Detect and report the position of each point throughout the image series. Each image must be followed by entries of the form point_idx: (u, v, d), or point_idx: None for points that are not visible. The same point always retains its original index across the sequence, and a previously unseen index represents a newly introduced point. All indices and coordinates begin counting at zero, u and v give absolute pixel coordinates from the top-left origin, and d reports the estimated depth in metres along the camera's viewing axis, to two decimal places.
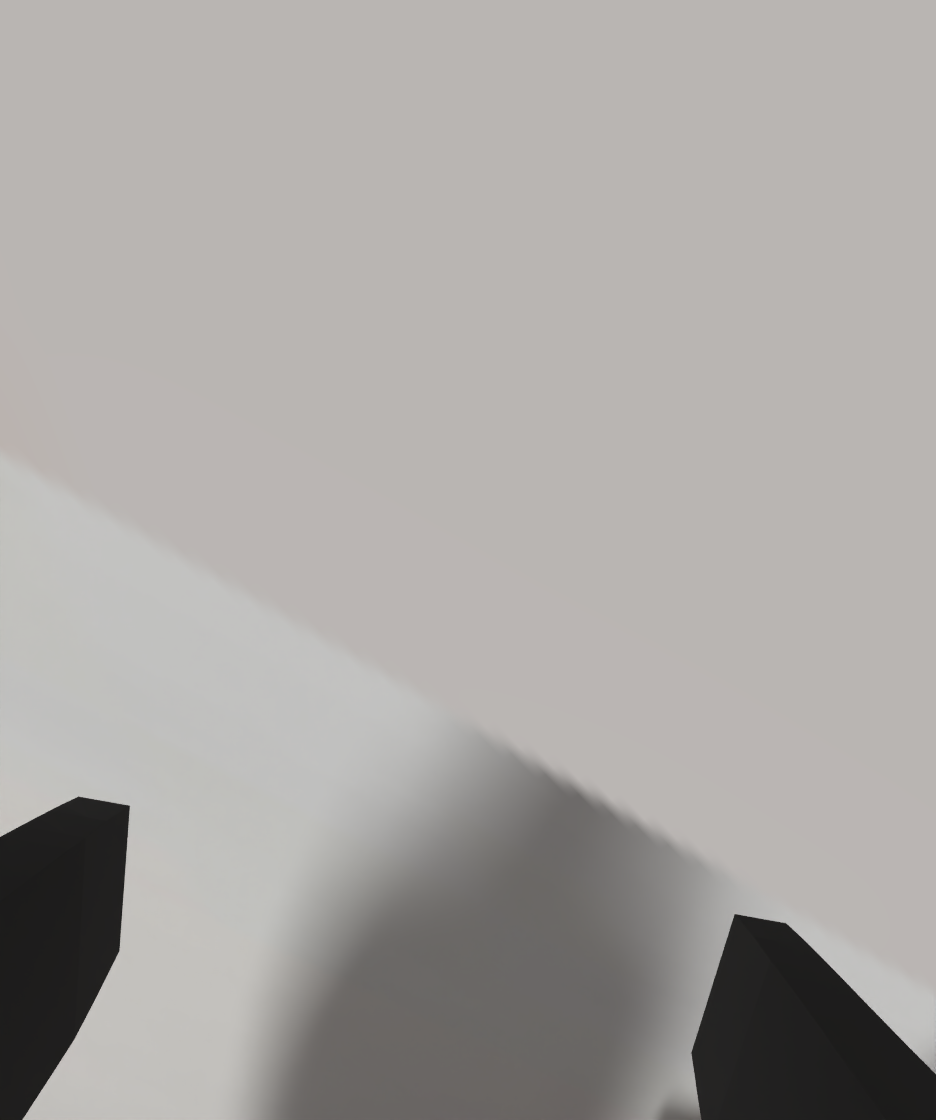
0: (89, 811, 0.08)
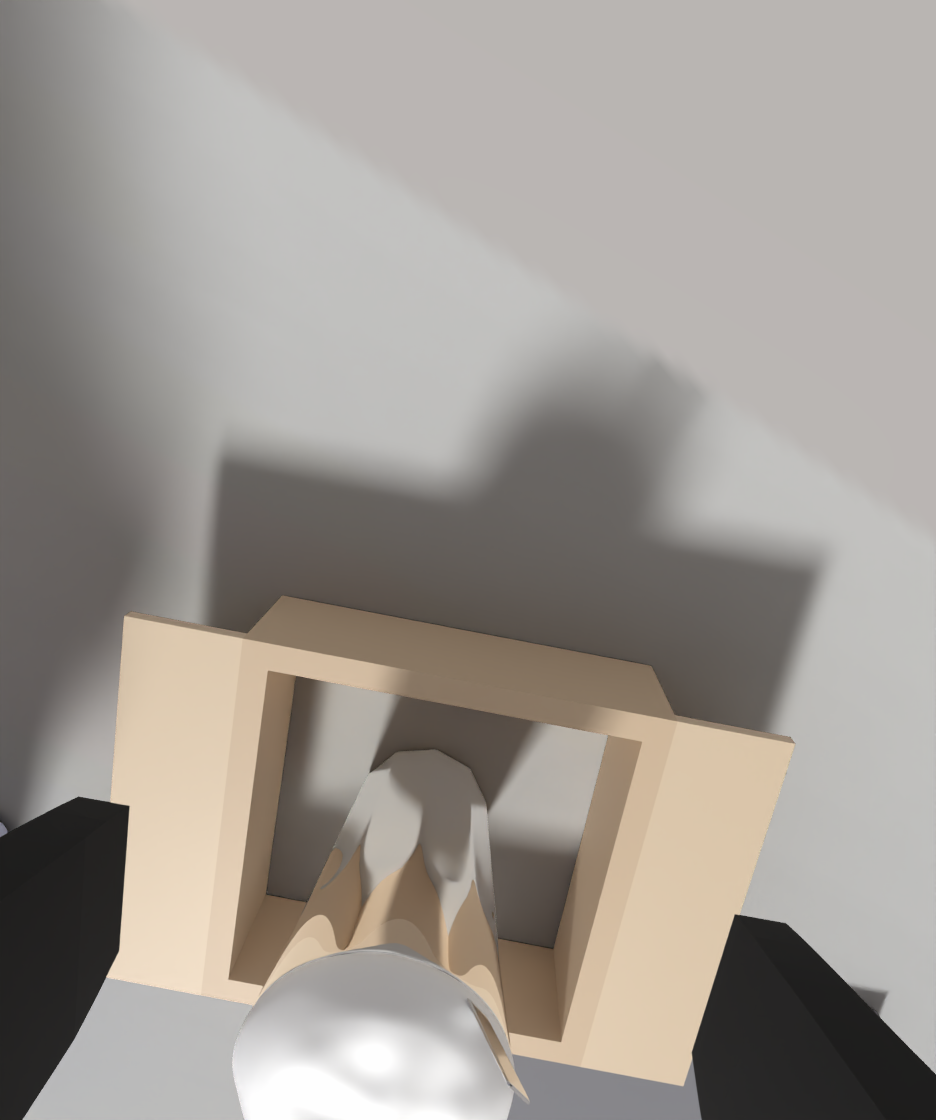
0: (88, 811, 0.08)
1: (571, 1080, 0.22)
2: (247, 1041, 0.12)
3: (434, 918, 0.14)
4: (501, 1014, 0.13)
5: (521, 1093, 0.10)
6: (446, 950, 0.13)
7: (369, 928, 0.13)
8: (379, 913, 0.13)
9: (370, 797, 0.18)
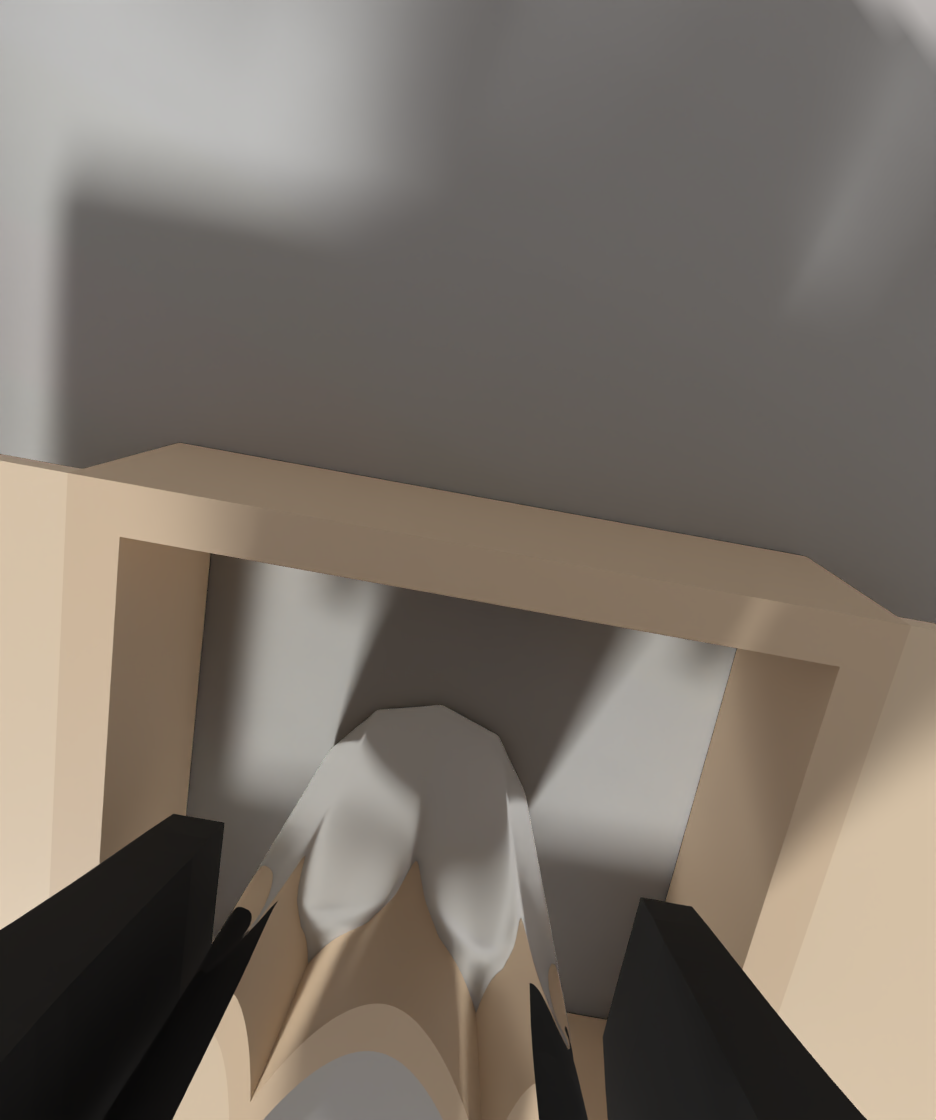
0: (187, 829, 0.08)
1: None
2: None
3: (448, 1057, 0.06)
4: None
5: None
6: None
7: (283, 1100, 0.05)
8: (314, 1051, 0.05)
9: (328, 782, 0.10)
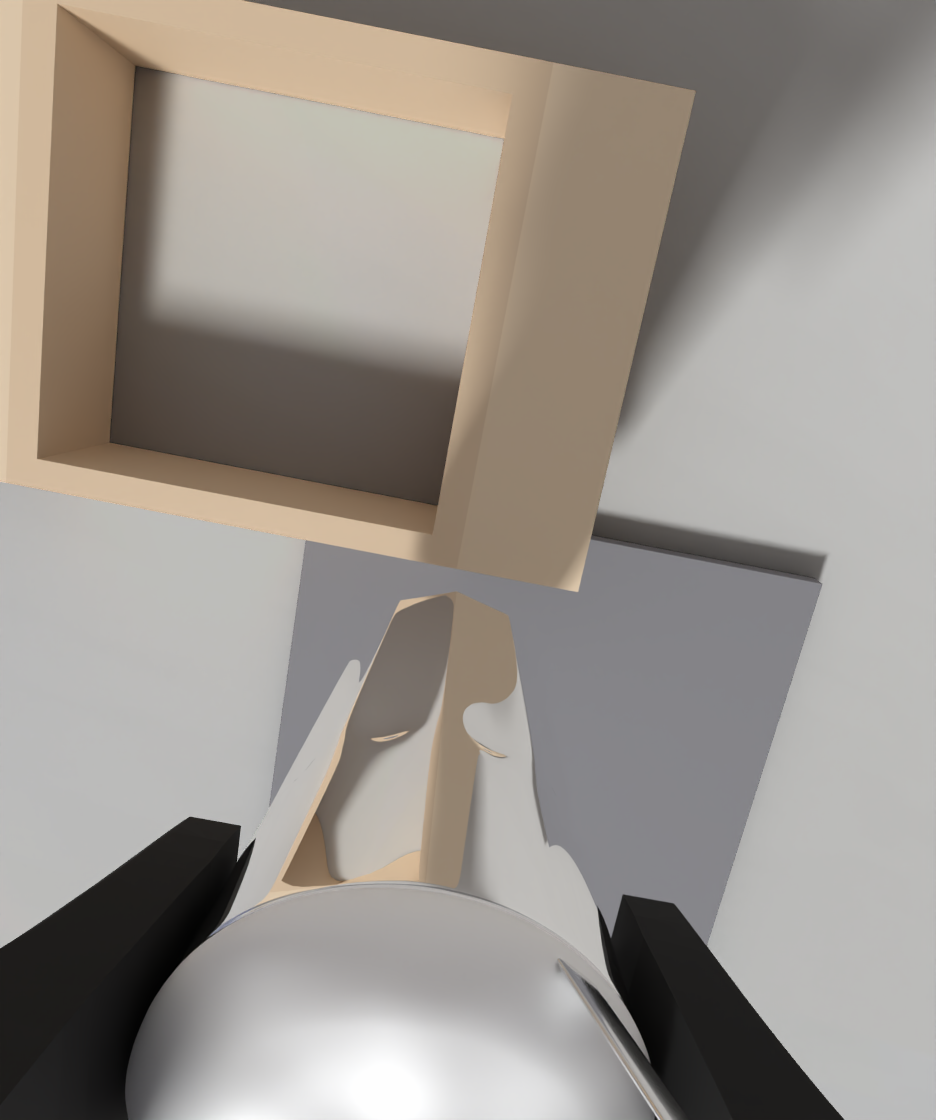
0: (205, 832, 0.08)
1: None
2: (141, 1069, 0.06)
3: (478, 817, 0.07)
4: (617, 976, 0.07)
5: None
6: (506, 871, 0.07)
7: (359, 843, 0.07)
8: (377, 815, 0.07)
9: (364, 658, 0.12)
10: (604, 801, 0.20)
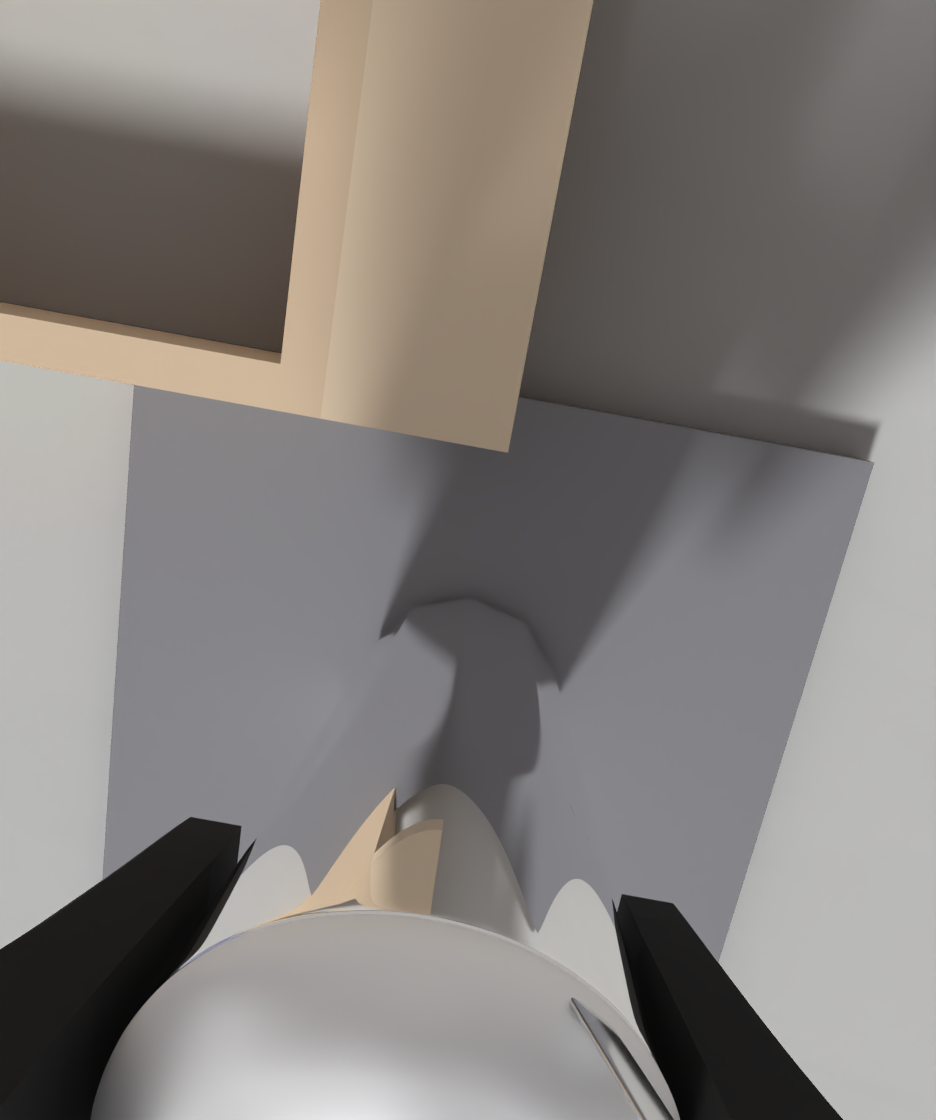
0: (205, 831, 0.08)
1: (369, 596, 0.13)
2: (103, 1118, 0.06)
3: (484, 835, 0.07)
4: (642, 1018, 0.06)
5: None
6: (514, 896, 0.06)
7: (350, 863, 0.06)
8: (372, 833, 0.07)
9: (372, 667, 0.11)
10: None
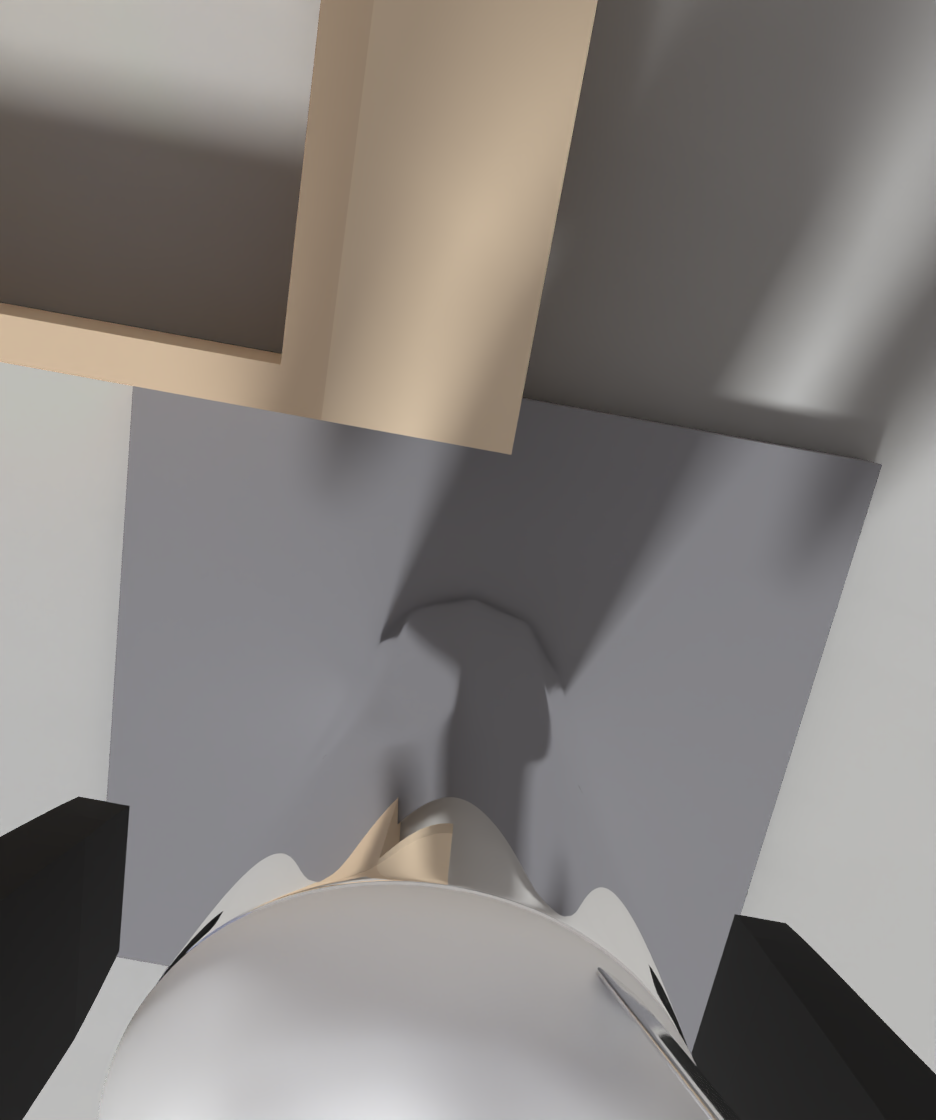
0: (88, 811, 0.08)
1: (370, 599, 0.13)
2: (113, 1101, 0.05)
3: (501, 814, 0.07)
4: (665, 996, 0.06)
5: None
6: (535, 870, 0.06)
7: (367, 839, 0.06)
8: (388, 811, 0.06)
9: (376, 664, 0.11)
10: None
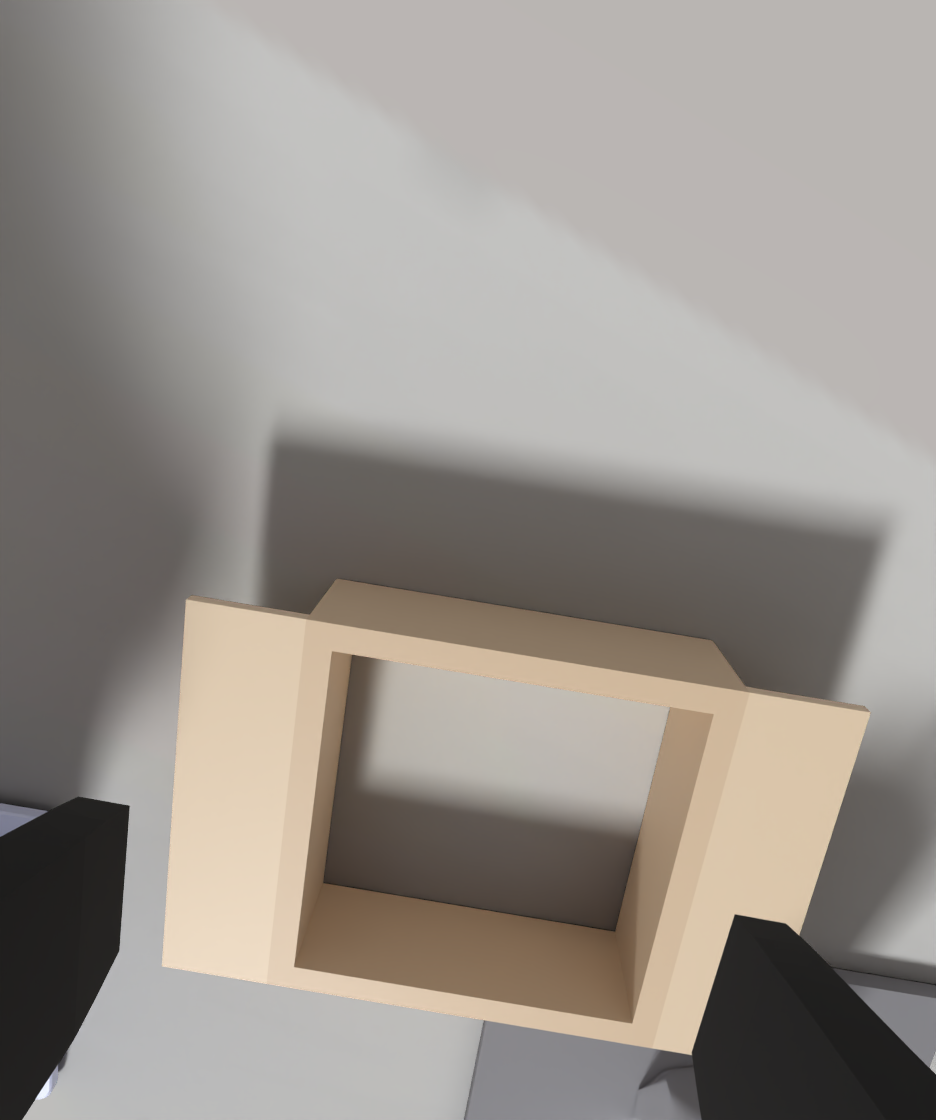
0: (88, 811, 0.08)
1: (635, 1064, 0.22)
2: None
3: None
4: None
5: None
6: None
7: None
8: None
9: None
10: None
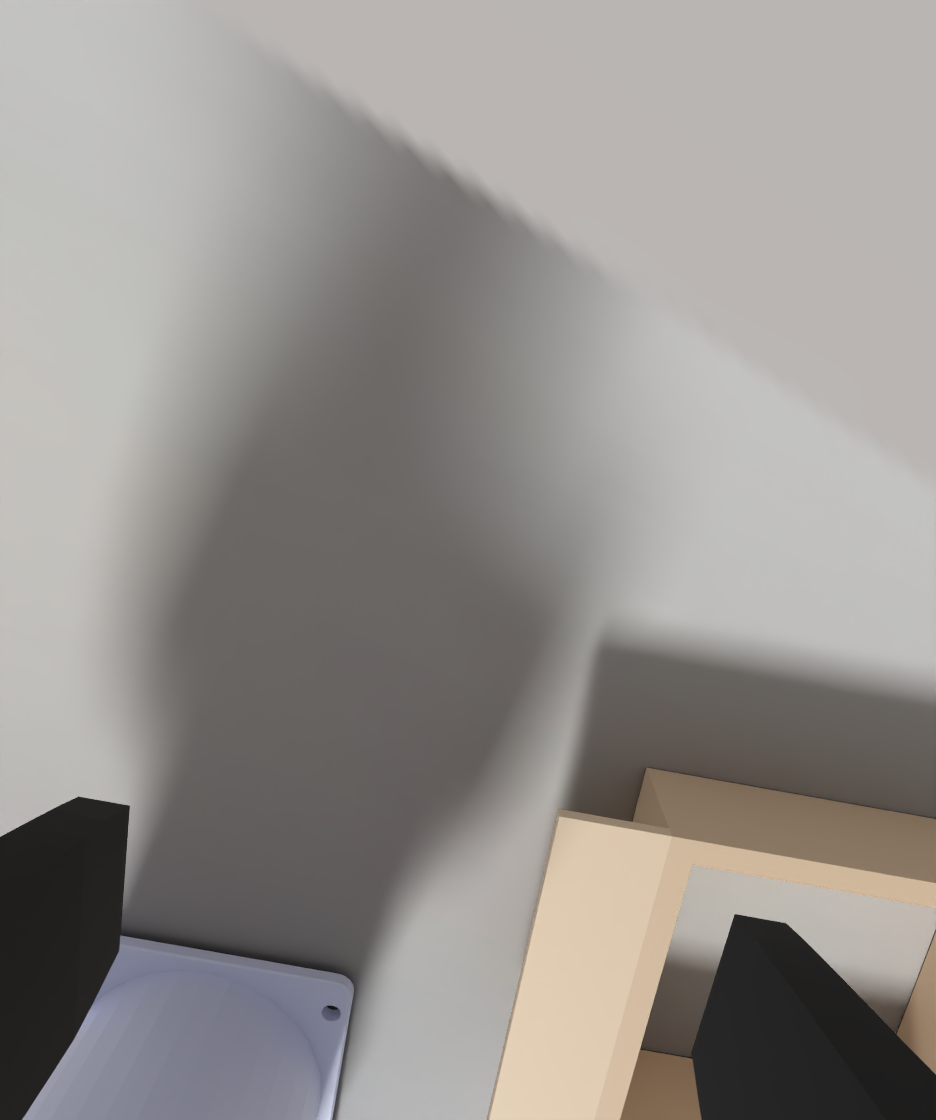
0: (88, 811, 0.08)
1: None
2: None
3: None
4: None
5: None
6: None
7: None
8: None
9: None
10: None
